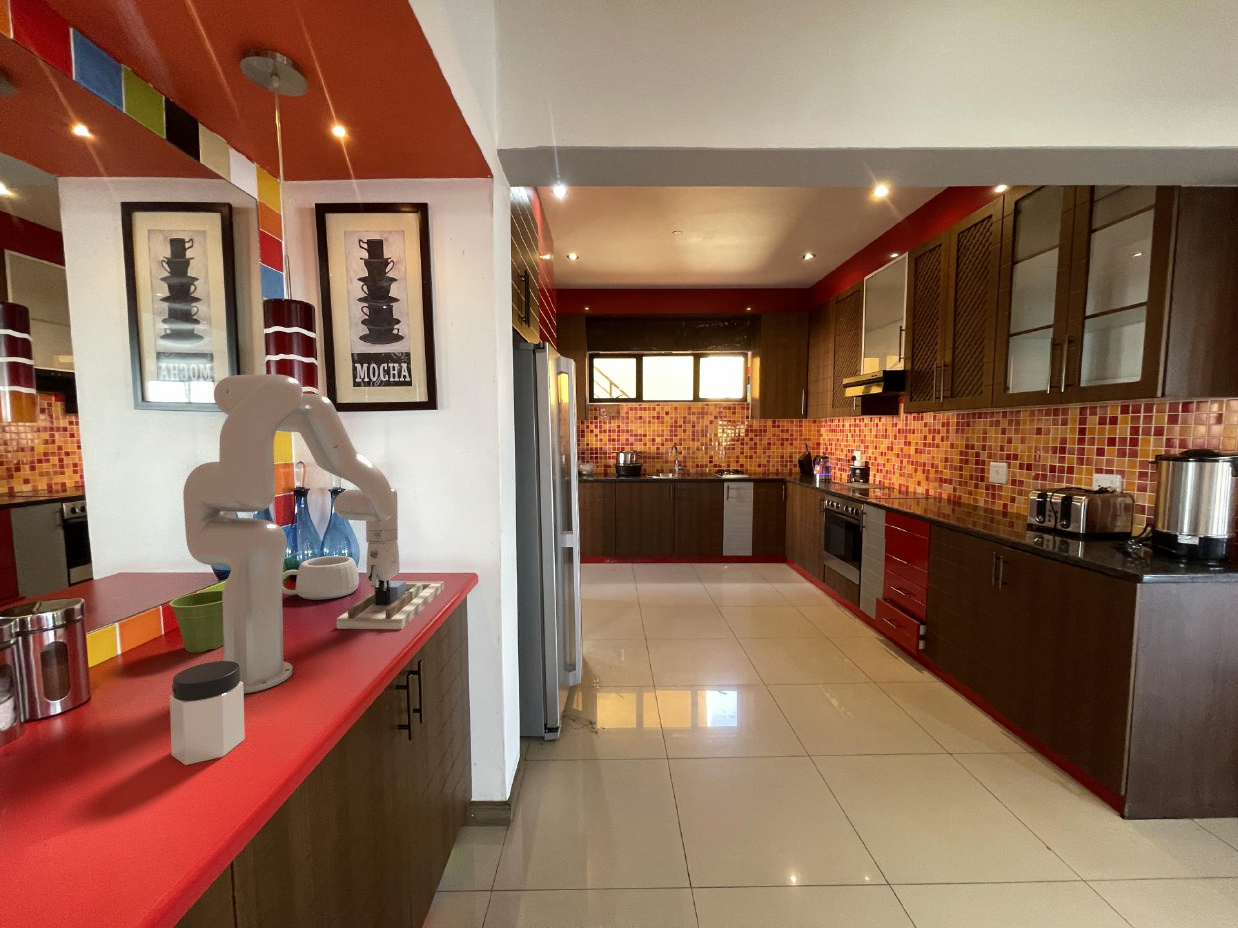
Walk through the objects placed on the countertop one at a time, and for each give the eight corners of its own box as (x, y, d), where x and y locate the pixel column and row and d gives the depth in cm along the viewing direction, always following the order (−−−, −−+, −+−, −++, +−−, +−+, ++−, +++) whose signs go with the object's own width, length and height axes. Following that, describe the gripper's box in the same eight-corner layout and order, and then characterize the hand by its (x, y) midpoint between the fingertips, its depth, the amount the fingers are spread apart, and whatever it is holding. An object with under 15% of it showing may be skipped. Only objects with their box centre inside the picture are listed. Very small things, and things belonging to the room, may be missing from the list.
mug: (351, 582, 173) (351, 552, 172) (365, 595, 160) (365, 562, 159) (273, 594, 159) (272, 561, 158) (281, 609, 146) (280, 573, 146)
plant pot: (178, 642, 122) (177, 593, 122) (241, 633, 128) (240, 587, 127) (163, 661, 112) (161, 609, 111) (232, 652, 117) (231, 601, 117)
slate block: (397, 605, 143) (397, 587, 142) (374, 605, 142) (374, 586, 142) (406, 598, 149) (405, 580, 148) (384, 598, 148) (384, 580, 148)
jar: (205, 731, 86) (203, 658, 86) (255, 732, 86) (253, 659, 86) (157, 765, 77) (154, 684, 77) (212, 766, 77) (210, 685, 77)
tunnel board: (401, 628, 132) (401, 609, 132) (336, 628, 132) (336, 608, 132) (443, 589, 166) (443, 573, 166) (392, 588, 166) (391, 573, 166)
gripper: (384, 541, 132) (385, 614, 133) (407, 530, 146) (407, 596, 147) (353, 540, 131) (354, 613, 132) (379, 529, 146) (380, 595, 147)
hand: (382, 604), depth 140 cm, fingers closed
